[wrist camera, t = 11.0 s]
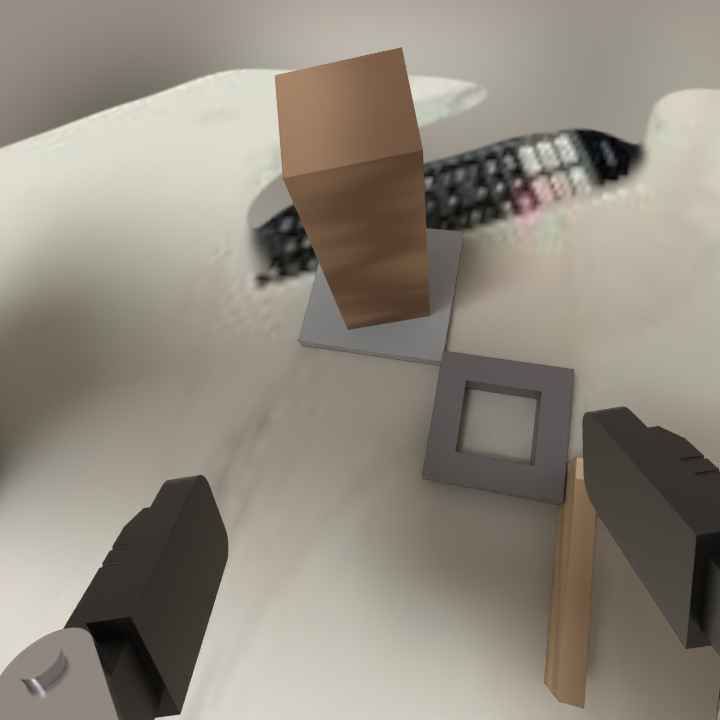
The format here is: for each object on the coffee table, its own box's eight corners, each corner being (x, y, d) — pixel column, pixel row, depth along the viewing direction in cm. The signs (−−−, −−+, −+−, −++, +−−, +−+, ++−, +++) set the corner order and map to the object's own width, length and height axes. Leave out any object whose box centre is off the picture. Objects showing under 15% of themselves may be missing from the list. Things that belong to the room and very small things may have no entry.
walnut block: (347, 330, 25) (283, 178, 15) (339, 259, 26) (275, 75, 16) (430, 316, 24) (422, 150, 14) (417, 244, 26) (402, 47, 16)
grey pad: (301, 344, 26) (298, 340, 25) (332, 225, 28) (330, 219, 27) (442, 365, 24) (442, 361, 24) (463, 238, 26) (463, 231, 26)
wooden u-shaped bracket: (544, 682, 19) (558, 701, 17) (562, 466, 22) (577, 456, 19) (805, 751, 18) (861, 782, 15) (792, 507, 20) (839, 503, 18)
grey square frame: (423, 478, 22) (422, 474, 21) (442, 359, 24) (443, 350, 23) (556, 504, 21) (563, 502, 20) (567, 377, 23) (574, 369, 22)
